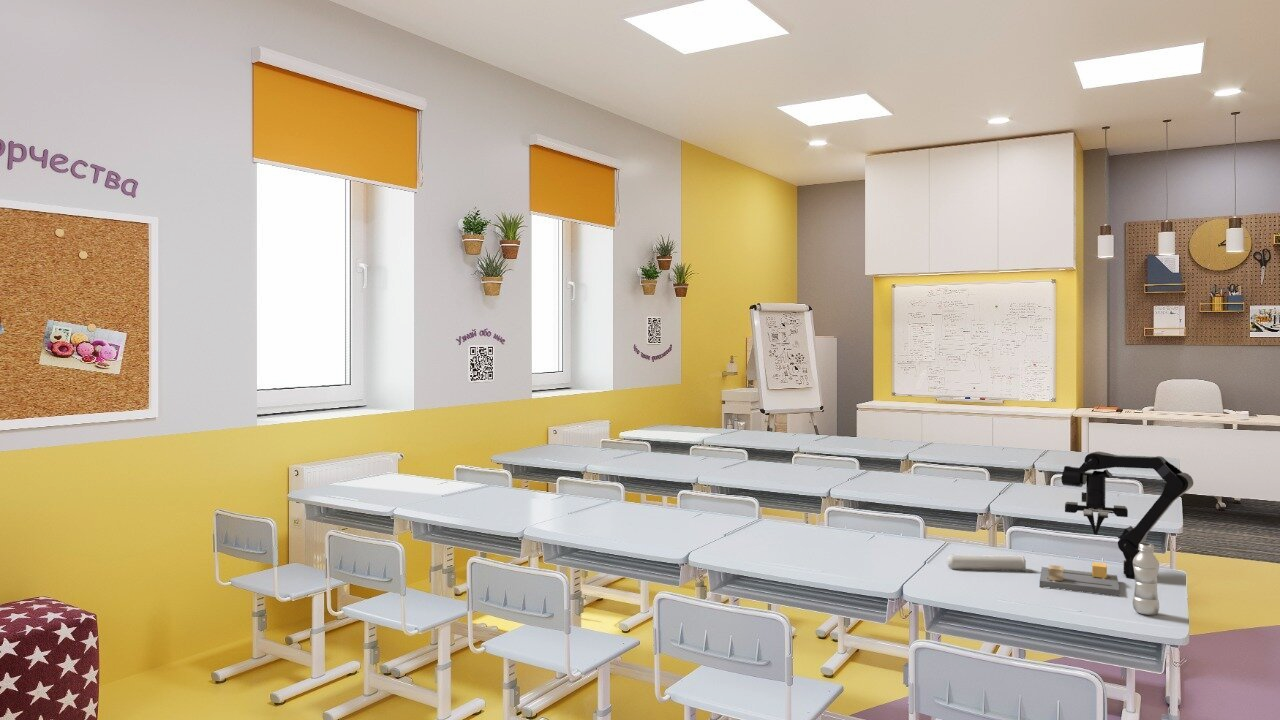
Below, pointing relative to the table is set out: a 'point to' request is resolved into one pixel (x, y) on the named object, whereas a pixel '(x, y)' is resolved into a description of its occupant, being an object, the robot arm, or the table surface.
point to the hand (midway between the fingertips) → (1095, 534)
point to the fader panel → (1081, 582)
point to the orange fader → (1099, 570)
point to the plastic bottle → (1146, 580)
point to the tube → (987, 562)
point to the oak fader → (1055, 572)
